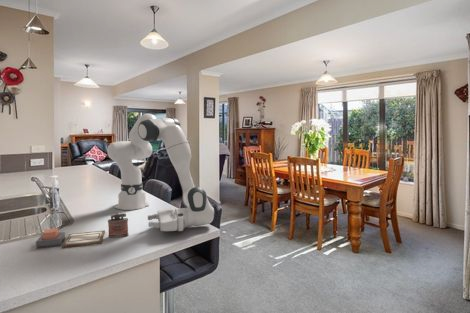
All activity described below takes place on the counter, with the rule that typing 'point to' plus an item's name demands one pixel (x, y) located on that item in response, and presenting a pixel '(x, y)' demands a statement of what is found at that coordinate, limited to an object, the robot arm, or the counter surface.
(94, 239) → the board
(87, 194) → the counter surface
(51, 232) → the button
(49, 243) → the button housing
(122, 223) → the lighter
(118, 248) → the counter surface
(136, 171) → the robot arm
